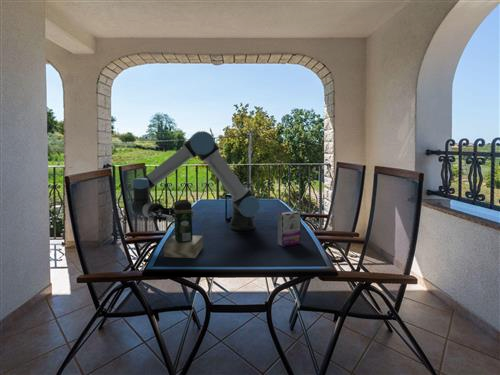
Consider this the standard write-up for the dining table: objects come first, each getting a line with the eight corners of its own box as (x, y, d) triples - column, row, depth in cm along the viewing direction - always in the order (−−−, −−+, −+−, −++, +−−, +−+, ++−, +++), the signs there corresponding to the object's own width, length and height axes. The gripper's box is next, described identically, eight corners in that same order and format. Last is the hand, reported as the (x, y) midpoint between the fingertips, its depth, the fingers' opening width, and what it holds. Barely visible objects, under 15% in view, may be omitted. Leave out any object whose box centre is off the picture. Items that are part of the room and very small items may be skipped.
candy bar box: (294, 241, 161) (295, 210, 158) (300, 243, 156) (301, 212, 154) (276, 244, 156) (277, 212, 153) (282, 247, 151) (282, 214, 149)
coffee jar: (174, 237, 146) (173, 199, 143) (191, 236, 148) (190, 198, 146) (175, 243, 137) (174, 202, 134) (193, 242, 139) (192, 201, 137)
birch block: (202, 247, 150) (202, 235, 149) (195, 258, 136) (194, 244, 135) (174, 246, 151) (174, 234, 150) (164, 256, 137) (164, 243, 136)
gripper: (173, 213, 164) (202, 219, 152) (132, 223, 143) (162, 230, 131) (173, 199, 163) (202, 204, 151) (131, 207, 142) (161, 213, 130)
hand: (183, 216), depth 141 cm, fingers open, 13 cm apart
